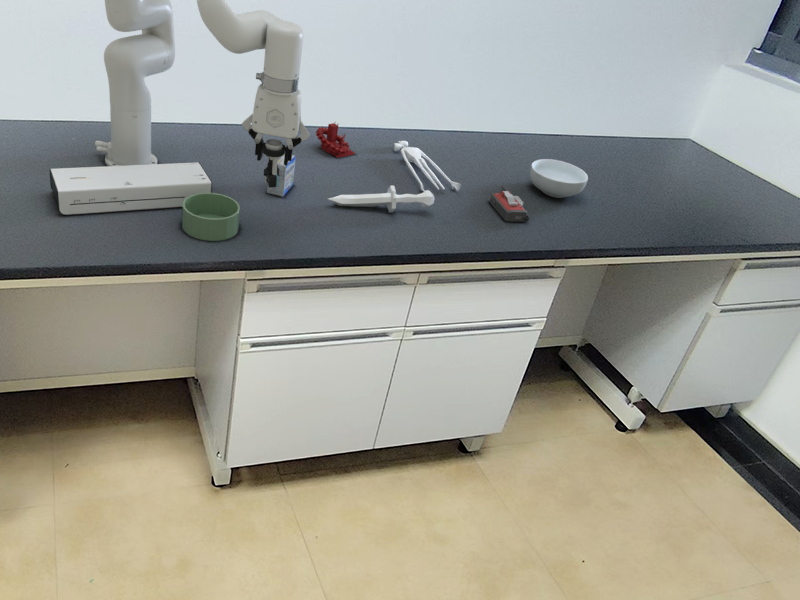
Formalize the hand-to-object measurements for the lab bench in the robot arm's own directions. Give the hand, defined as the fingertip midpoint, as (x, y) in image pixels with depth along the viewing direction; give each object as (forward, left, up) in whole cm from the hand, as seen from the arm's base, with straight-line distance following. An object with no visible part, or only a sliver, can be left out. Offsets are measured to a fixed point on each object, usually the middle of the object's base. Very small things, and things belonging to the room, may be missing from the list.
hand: (273, 159), depth 174 cm
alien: (+36, +47, -17) cm, 62 cm away
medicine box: (0, +19, -17) cm, 25 cm away
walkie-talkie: (+61, +33, -17) cm, 71 cm away
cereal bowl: (+77, +49, -17) cm, 93 cm away
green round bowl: (-12, -6, -16) cm, 21 cm away
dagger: (+26, +17, -17) cm, 35 cm away
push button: (0, 0, -6) cm, 6 cm away
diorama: (+11, +50, -17) cm, 54 cm away
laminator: (-32, +1, -17) cm, 36 cm away
